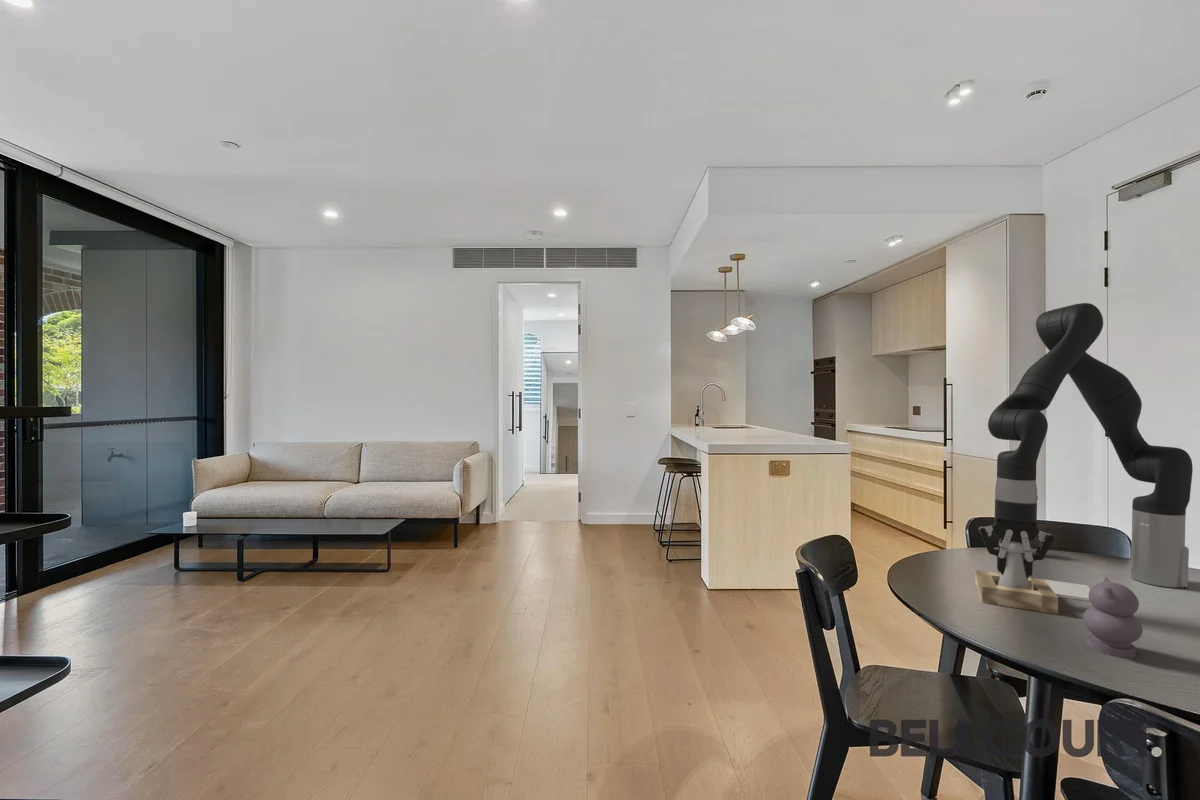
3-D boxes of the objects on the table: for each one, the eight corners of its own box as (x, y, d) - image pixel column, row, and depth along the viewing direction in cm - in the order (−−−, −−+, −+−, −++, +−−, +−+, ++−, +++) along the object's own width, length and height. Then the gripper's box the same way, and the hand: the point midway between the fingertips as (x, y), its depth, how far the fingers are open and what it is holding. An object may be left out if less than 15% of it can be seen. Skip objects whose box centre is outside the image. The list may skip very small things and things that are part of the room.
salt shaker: (1019, 594, 126) (1020, 537, 126) (1036, 604, 120) (1037, 544, 120) (991, 593, 127) (993, 536, 127) (1007, 602, 121) (1008, 543, 121)
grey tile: (1086, 587, 131) (1086, 585, 131) (1101, 603, 121) (1101, 600, 121) (1028, 579, 136) (1028, 577, 136) (1038, 593, 127) (1038, 591, 127)
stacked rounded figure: (1142, 665, 93) (1144, 594, 93) (1081, 650, 99) (1082, 583, 98) (1141, 648, 99) (1143, 582, 99) (1083, 635, 105) (1084, 572, 105)
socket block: (1043, 594, 126) (1044, 579, 126) (1057, 614, 115) (1058, 597, 115) (975, 584, 132) (975, 570, 132) (982, 602, 121) (982, 586, 121)
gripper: (1052, 499, 123) (1050, 576, 123) (975, 493, 130) (974, 566, 130) (1060, 505, 117) (1058, 586, 117) (979, 498, 123) (977, 575, 124)
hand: (1014, 575), depth 124 cm, fingers open, 3 cm apart
